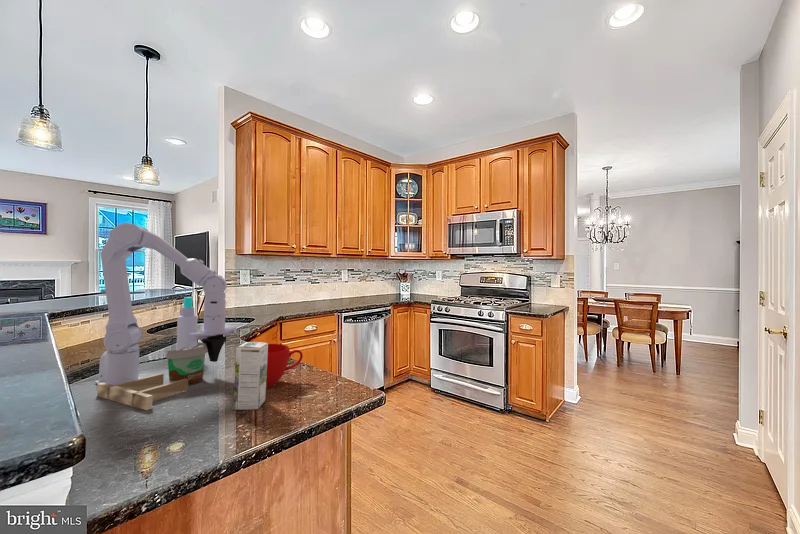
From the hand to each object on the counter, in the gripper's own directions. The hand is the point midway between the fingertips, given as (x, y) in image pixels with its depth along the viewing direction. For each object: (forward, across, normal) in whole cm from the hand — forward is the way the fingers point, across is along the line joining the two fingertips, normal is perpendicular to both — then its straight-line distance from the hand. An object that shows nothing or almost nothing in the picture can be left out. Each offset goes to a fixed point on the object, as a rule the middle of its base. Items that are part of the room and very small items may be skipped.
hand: (213, 361), depth 106 cm
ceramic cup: (+5, +3, -20) cm, 21 cm away
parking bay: (+4, -18, 0) cm, 18 cm away
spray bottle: (+5, +8, +24) cm, 26 cm away
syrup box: (+5, -12, -28) cm, 31 cm away
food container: (+5, -7, 0) cm, 8 cm away
